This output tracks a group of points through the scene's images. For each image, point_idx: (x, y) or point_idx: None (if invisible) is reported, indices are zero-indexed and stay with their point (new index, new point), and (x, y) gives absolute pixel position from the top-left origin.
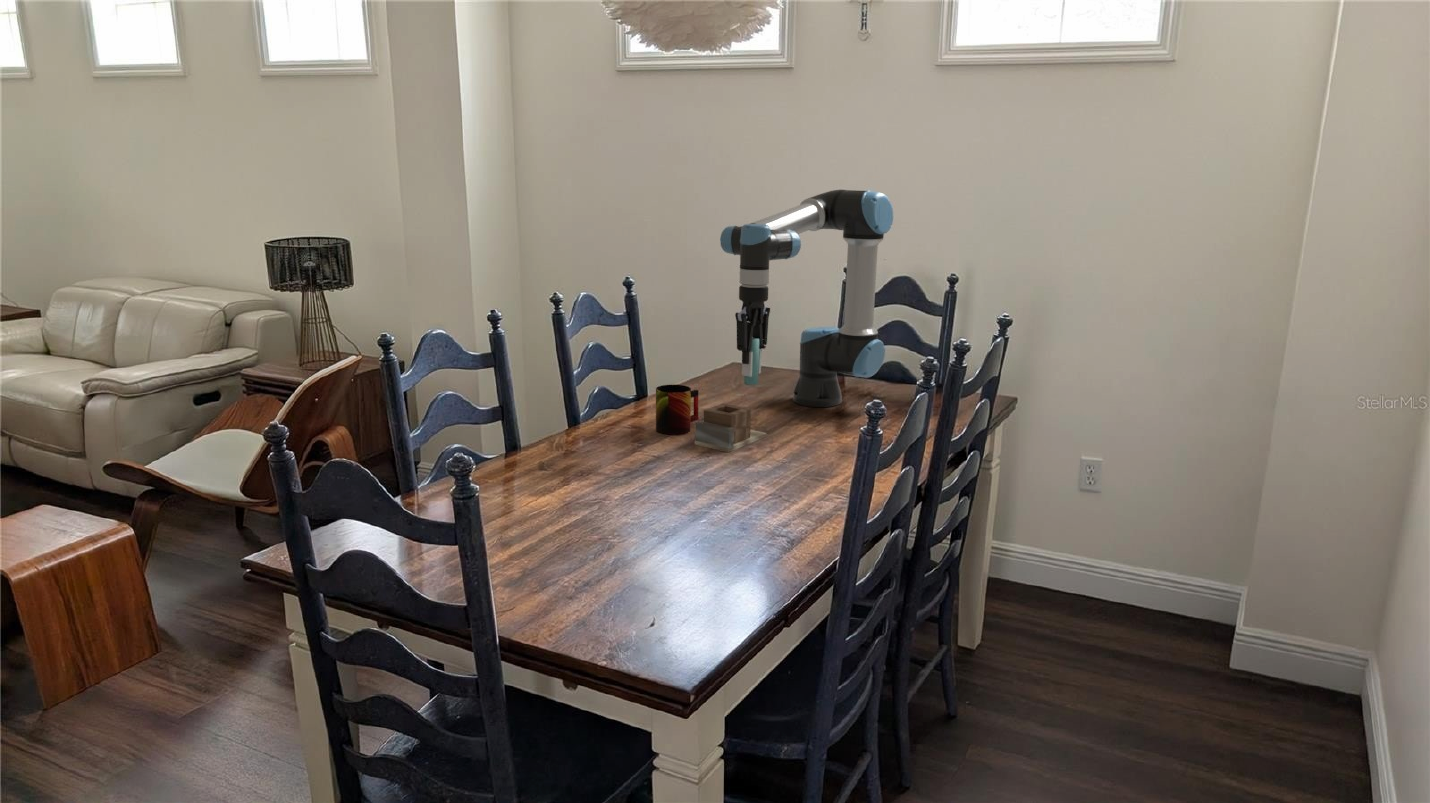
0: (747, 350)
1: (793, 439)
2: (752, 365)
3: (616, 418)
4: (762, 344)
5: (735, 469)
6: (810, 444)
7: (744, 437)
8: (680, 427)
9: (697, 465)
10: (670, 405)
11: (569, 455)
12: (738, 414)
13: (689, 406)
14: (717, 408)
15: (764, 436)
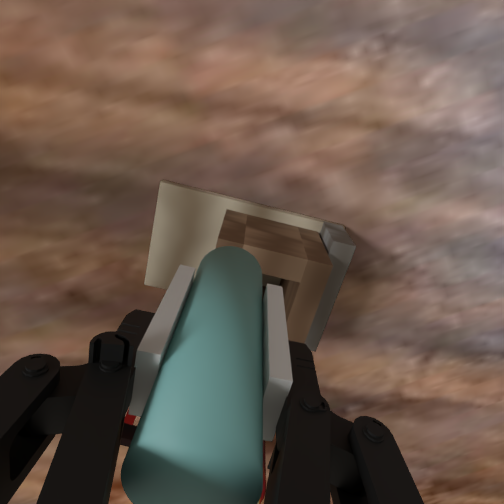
0: (327, 411)
1: (147, 93)
2: (257, 315)
3: None
4: (98, 374)
5: (484, 157)
6: (171, 18)
7: (255, 218)
8: None
9: (471, 255)
10: (263, 444)
11: (461, 480)
12: (293, 254)
13: None
14: None
15: (172, 182)
